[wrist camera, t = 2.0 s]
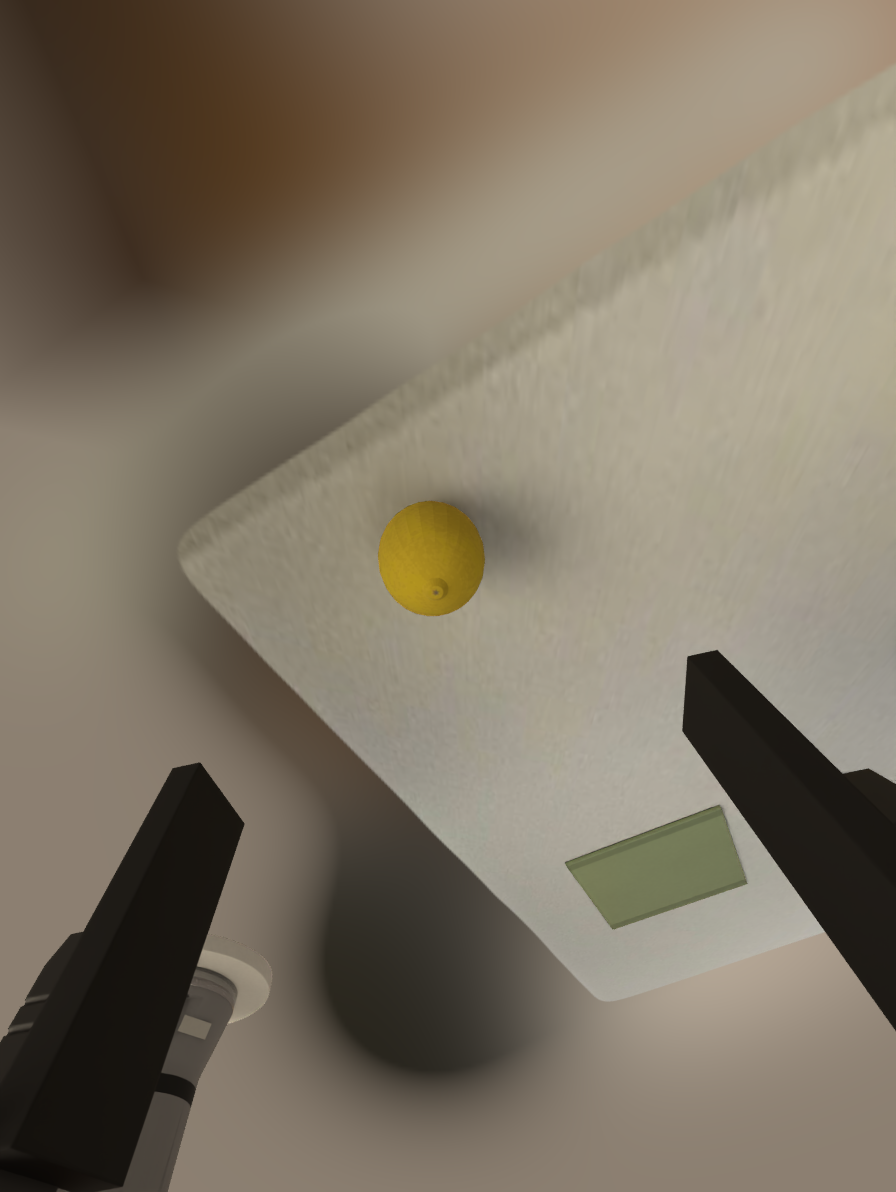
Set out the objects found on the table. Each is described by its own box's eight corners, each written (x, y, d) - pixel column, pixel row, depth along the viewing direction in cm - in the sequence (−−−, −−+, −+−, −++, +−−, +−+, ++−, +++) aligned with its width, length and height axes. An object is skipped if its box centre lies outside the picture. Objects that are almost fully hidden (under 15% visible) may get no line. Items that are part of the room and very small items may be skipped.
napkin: (611, 927, 53) (612, 930, 53) (564, 862, 46) (565, 865, 46) (745, 881, 51) (747, 884, 50) (719, 805, 43) (721, 808, 43)
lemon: (491, 516, 27) (521, 575, 20) (440, 585, 29) (451, 661, 22) (413, 464, 25) (416, 510, 18) (364, 542, 27) (350, 610, 20)
